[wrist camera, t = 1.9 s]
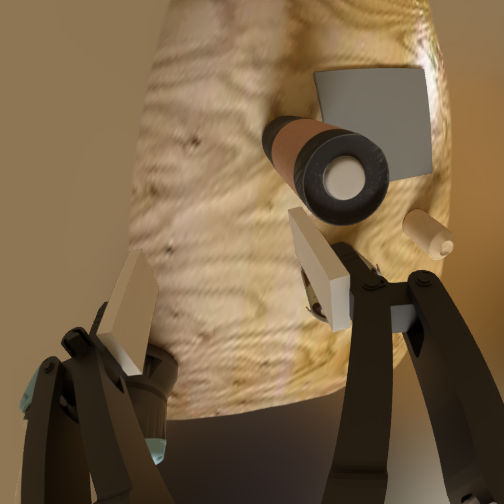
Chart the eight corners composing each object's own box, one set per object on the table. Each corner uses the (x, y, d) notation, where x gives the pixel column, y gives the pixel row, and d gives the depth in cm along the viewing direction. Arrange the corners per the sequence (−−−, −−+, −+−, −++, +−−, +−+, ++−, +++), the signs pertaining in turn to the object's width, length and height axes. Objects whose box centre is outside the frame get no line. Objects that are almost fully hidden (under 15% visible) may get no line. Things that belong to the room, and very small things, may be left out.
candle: (401, 239, 48) (432, 268, 40) (402, 211, 46) (436, 238, 37) (424, 232, 48) (456, 259, 40) (425, 205, 45) (460, 230, 37)
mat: (333, 192, 42) (334, 193, 42) (313, 72, 33) (314, 72, 33) (429, 172, 42) (431, 173, 42) (421, 69, 33) (423, 69, 33)
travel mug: (270, 174, 40) (314, 241, 23) (251, 124, 36) (287, 149, 19) (320, 157, 40) (396, 210, 22) (305, 107, 36) (381, 121, 18)
